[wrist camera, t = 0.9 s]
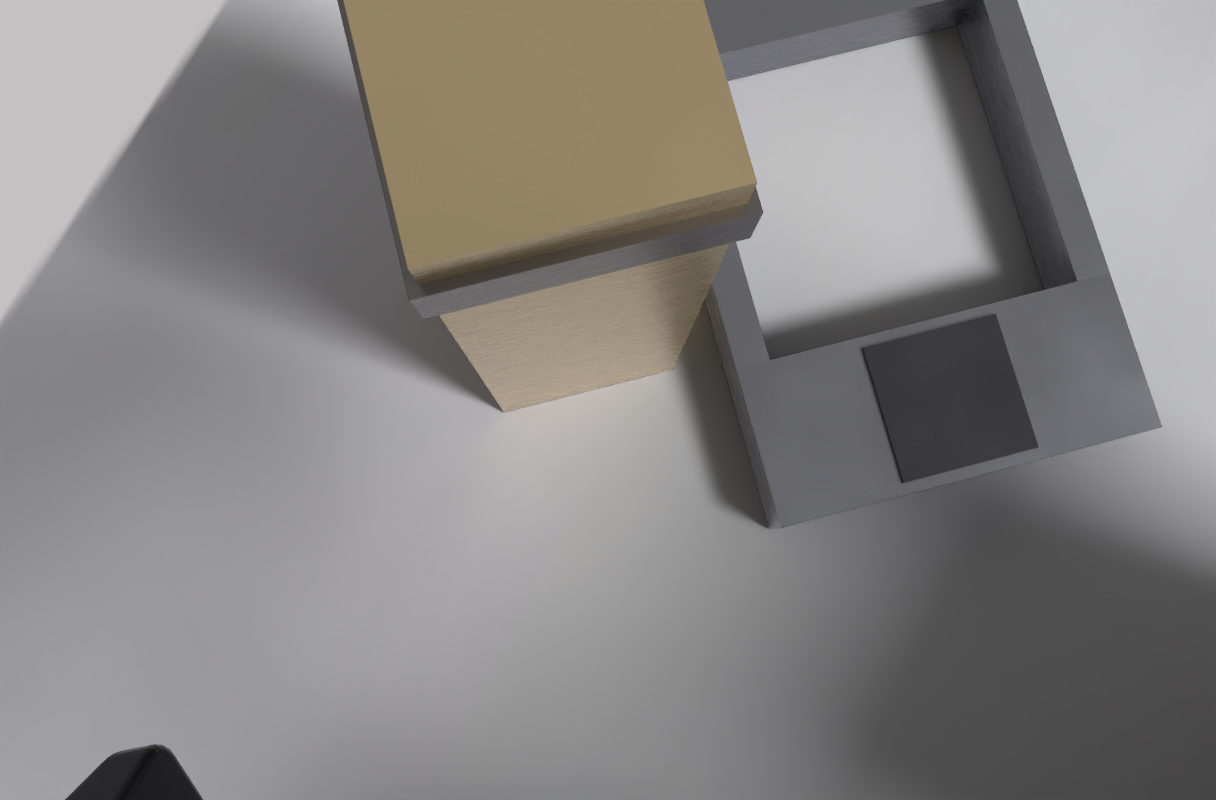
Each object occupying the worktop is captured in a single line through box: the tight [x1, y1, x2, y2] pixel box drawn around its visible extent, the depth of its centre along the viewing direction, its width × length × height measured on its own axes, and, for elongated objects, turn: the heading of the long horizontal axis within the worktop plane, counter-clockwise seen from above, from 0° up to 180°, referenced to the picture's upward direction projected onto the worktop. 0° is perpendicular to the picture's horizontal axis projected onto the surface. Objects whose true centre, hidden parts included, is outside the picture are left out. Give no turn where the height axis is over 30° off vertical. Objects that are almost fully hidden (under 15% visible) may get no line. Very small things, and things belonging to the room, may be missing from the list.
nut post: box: [337, 0, 763, 412], centre depth 17 cm, size 4×4×12 cm
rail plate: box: [704, 0, 1162, 529], centre depth 23 cm, size 12×8×2 cm
